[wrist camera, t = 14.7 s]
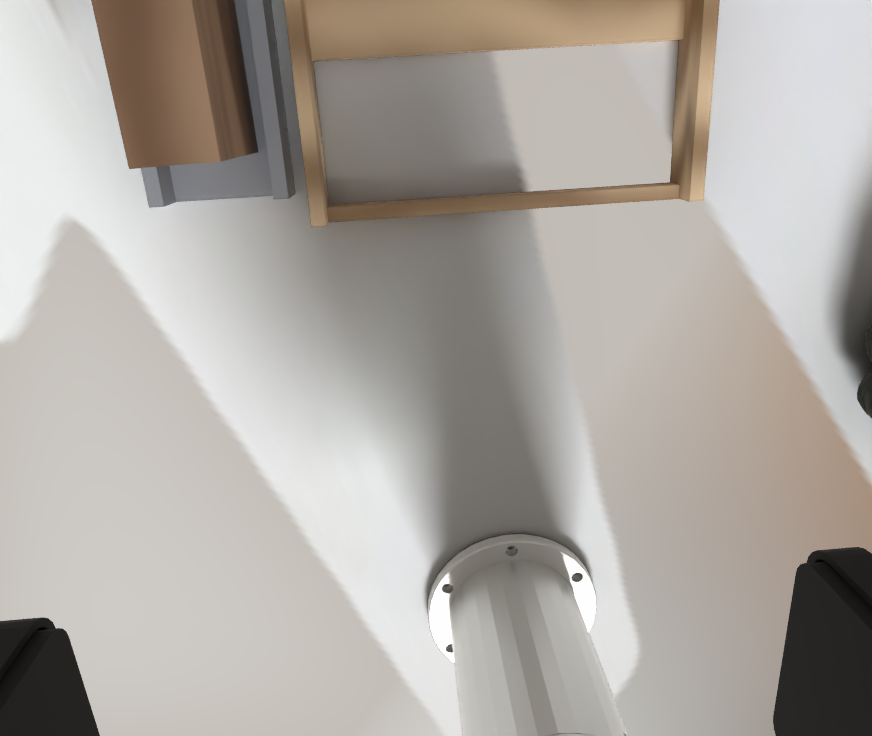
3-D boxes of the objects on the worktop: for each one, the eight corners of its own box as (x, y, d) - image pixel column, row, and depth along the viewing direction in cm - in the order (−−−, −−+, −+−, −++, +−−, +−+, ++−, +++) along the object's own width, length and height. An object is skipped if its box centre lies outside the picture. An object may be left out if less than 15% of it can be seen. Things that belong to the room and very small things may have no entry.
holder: (295, 193, 40) (288, 198, 37) (164, 201, 39) (149, 207, 37) (250, -156, 34) (238, -178, 31) (96, -149, 33) (72, -170, 31)
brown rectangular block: (219, -96, 34) (161, -167, 26) (258, 152, 38) (220, 161, 30) (139, -91, 34) (55, -161, 25) (187, 157, 38) (129, 169, 30)
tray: (682, 195, 41) (703, 200, 38) (317, 219, 40) (311, 227, 37) (707, -172, 34) (735, -198, 32) (273, -152, 34) (262, -177, 31)
